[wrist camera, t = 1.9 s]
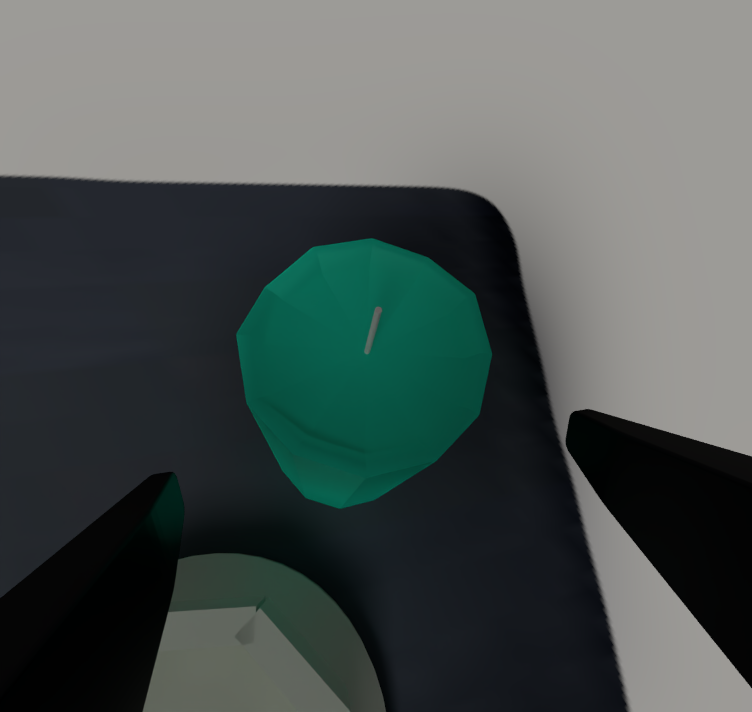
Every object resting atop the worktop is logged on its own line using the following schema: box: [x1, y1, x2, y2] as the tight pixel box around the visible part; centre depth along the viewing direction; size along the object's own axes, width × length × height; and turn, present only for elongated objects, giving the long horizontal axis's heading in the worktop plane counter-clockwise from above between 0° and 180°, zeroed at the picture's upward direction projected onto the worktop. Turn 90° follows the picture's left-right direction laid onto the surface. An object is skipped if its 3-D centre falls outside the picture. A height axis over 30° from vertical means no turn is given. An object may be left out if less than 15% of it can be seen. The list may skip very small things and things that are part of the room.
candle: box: [236, 238, 492, 509], centre depth 13 cm, size 6×6×12 cm
